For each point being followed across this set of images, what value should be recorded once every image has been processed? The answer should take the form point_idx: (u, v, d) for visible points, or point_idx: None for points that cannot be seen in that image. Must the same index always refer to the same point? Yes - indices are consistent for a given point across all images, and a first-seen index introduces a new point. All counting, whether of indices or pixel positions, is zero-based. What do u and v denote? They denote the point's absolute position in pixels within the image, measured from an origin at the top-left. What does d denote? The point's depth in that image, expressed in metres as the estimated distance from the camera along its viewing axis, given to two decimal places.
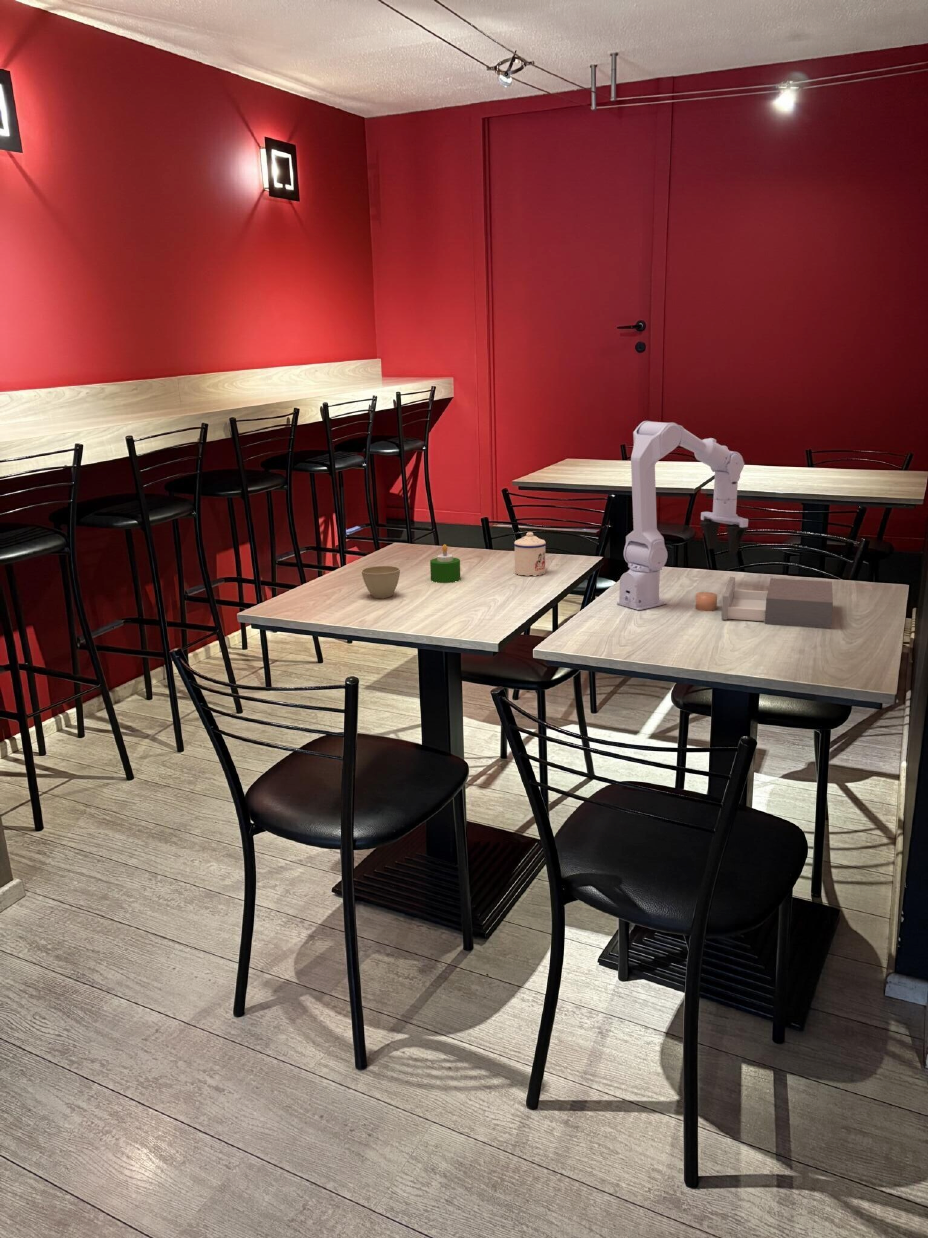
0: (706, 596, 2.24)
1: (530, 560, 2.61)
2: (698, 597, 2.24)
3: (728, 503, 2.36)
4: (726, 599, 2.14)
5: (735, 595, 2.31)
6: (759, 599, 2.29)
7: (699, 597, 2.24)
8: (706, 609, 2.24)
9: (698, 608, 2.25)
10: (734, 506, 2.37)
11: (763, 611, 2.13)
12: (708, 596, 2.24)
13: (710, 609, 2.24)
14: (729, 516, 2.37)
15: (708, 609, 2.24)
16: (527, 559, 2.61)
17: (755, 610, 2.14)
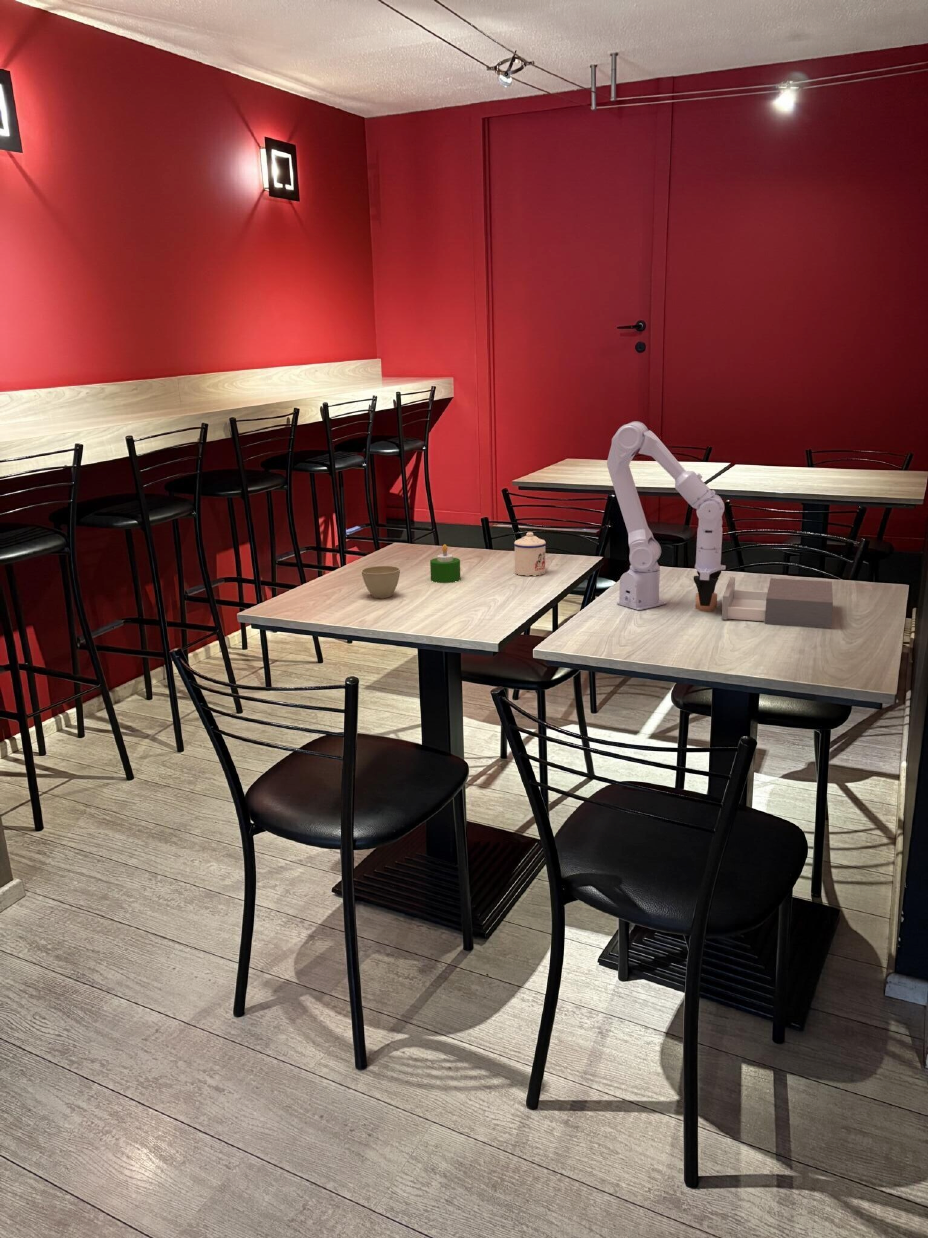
0: None
1: (530, 560, 2.61)
2: (698, 597, 2.24)
3: (701, 552, 2.21)
4: (726, 599, 2.14)
5: (735, 595, 2.31)
6: (759, 599, 2.29)
7: None
8: (706, 609, 2.24)
9: (698, 608, 2.25)
10: (709, 557, 2.20)
11: (763, 611, 2.13)
12: None
13: (710, 609, 2.24)
14: (702, 566, 2.21)
15: (708, 609, 2.24)
16: (527, 559, 2.61)
17: (755, 610, 2.14)
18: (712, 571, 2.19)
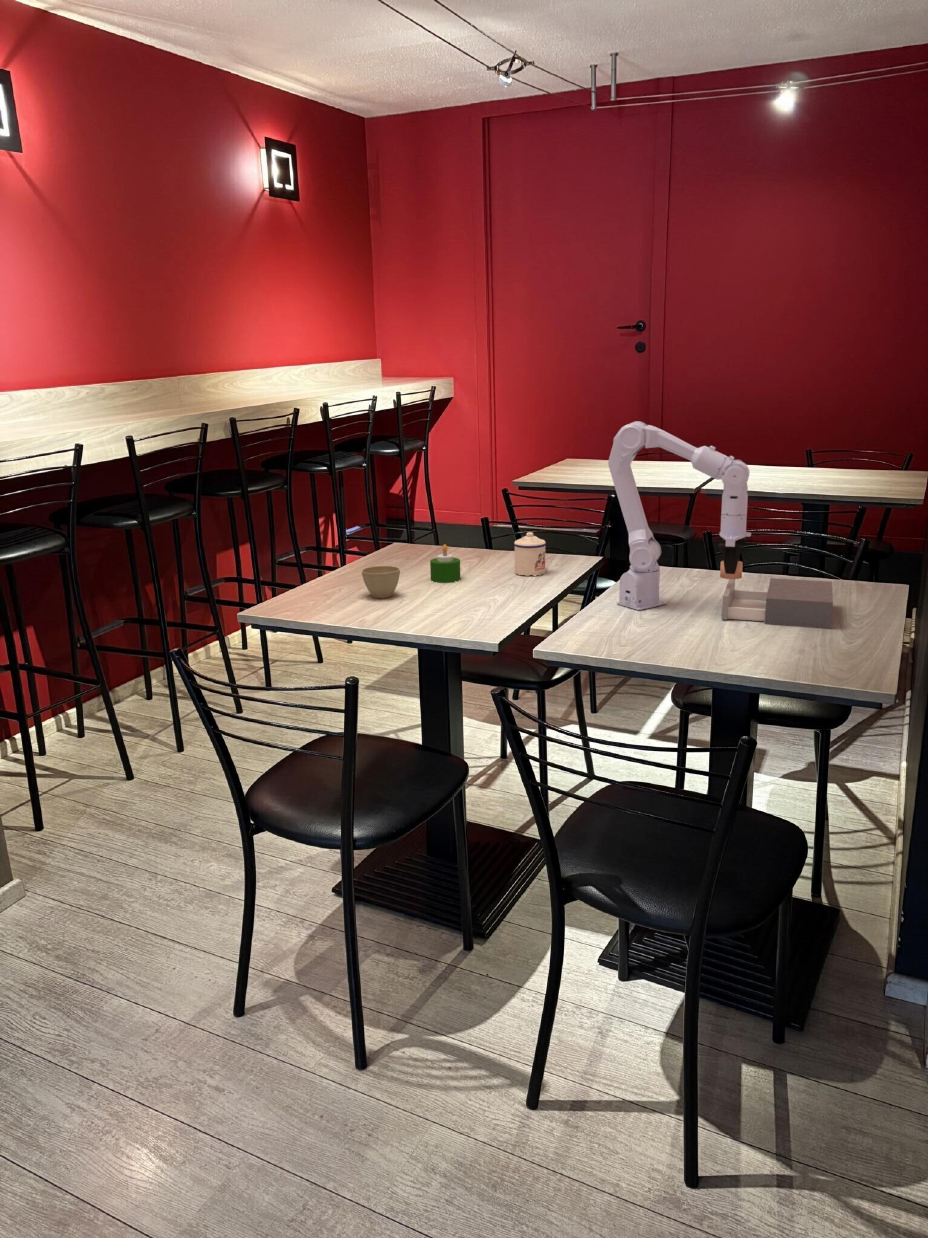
0: None
1: (530, 560, 2.61)
2: (723, 565, 2.20)
3: (727, 519, 2.17)
4: (726, 599, 2.14)
5: (735, 595, 2.31)
6: (759, 599, 2.29)
7: None
8: (731, 577, 2.20)
9: (723, 576, 2.21)
10: (735, 523, 2.16)
11: (763, 611, 2.13)
12: None
13: (735, 577, 2.20)
14: (728, 533, 2.17)
15: (733, 577, 2.20)
16: (527, 559, 2.61)
17: (755, 610, 2.14)
18: (738, 537, 2.15)
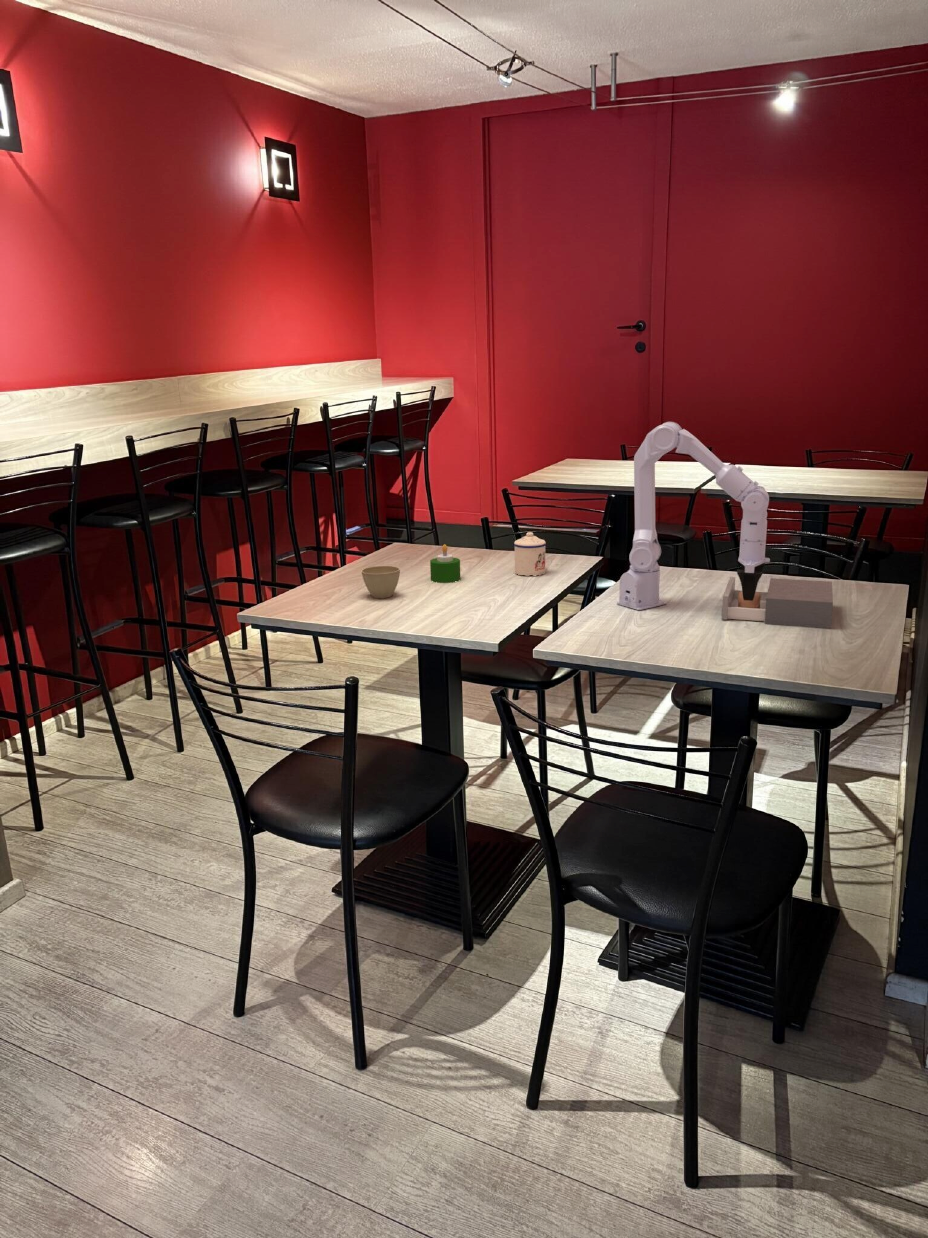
0: None
1: (530, 560, 2.61)
2: (741, 596, 2.21)
3: (746, 544, 2.17)
4: (726, 599, 2.14)
5: (735, 595, 2.31)
6: None
7: (742, 596, 2.21)
8: None
9: (741, 607, 2.21)
10: (754, 549, 2.16)
11: (763, 611, 2.13)
12: None
13: None
14: (747, 559, 2.17)
15: None
16: (527, 559, 2.61)
17: (755, 610, 2.14)
18: (757, 564, 2.15)
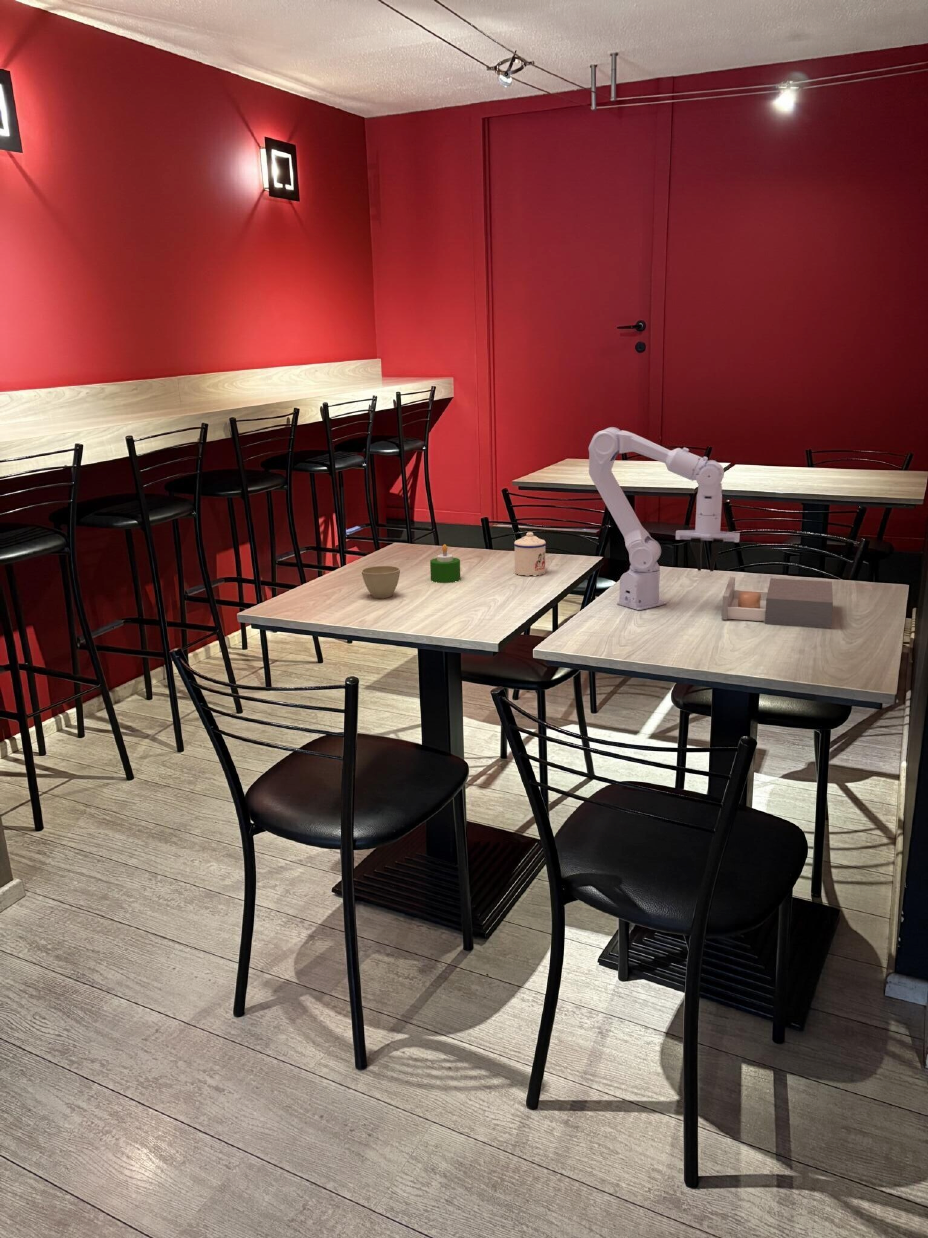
0: (749, 595, 2.20)
1: (530, 560, 2.61)
2: (741, 596, 2.21)
3: None
4: (726, 599, 2.14)
5: (735, 595, 2.31)
6: None
7: (742, 596, 2.20)
8: None
9: (741, 607, 2.21)
10: None
11: (763, 611, 2.13)
12: (752, 595, 2.20)
13: None
14: None
15: None
16: (527, 559, 2.61)
17: (755, 610, 2.14)
18: (686, 533, 2.22)
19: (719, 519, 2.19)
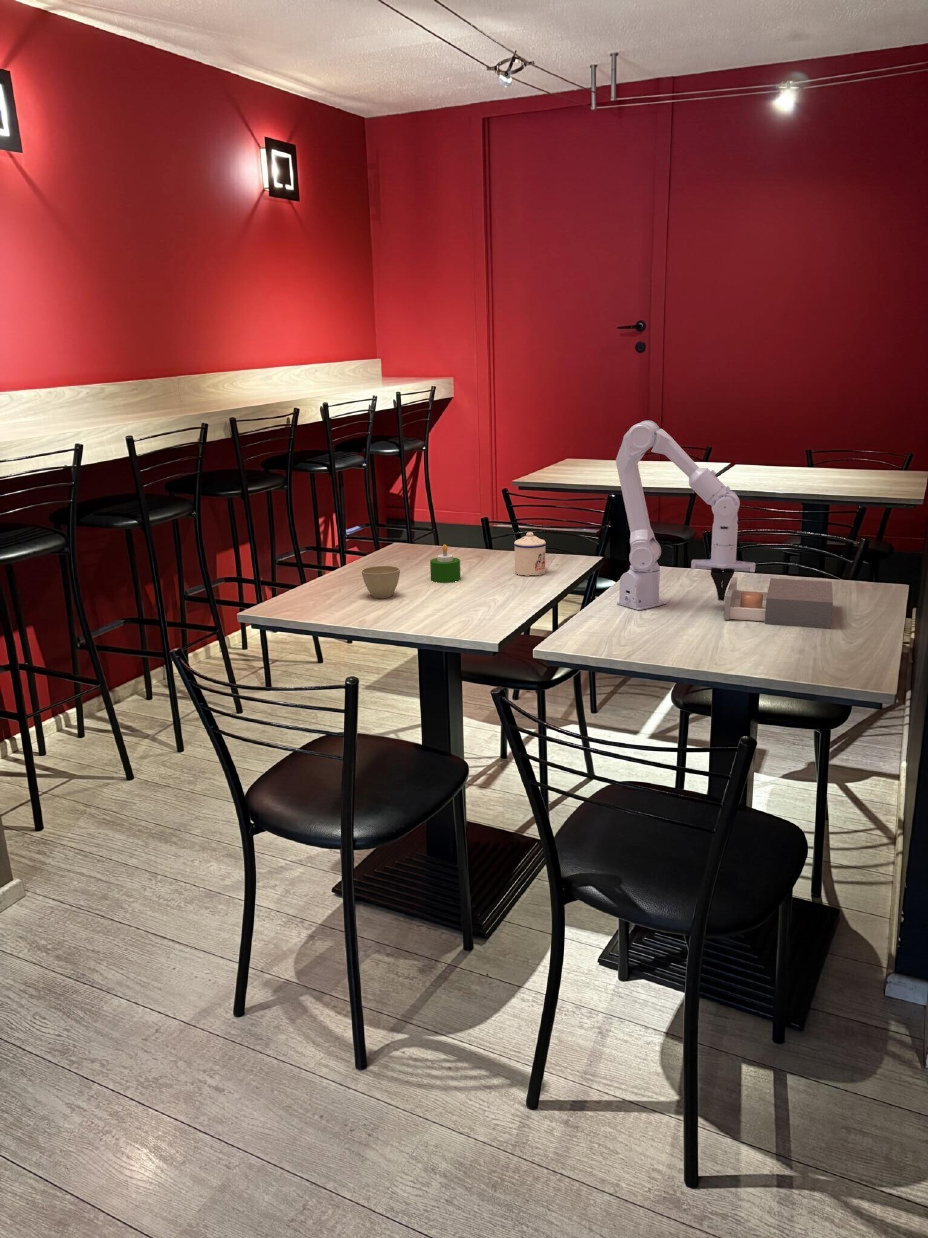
0: (752, 595, 2.20)
1: (530, 560, 2.61)
2: (743, 596, 2.21)
3: None
4: (728, 599, 2.14)
5: (737, 595, 2.31)
6: None
7: (745, 596, 2.20)
8: None
9: (743, 607, 2.21)
10: (711, 550, 2.22)
11: None
12: (754, 595, 2.20)
13: (756, 608, 2.20)
14: None
15: None
16: (527, 559, 2.61)
17: (758, 610, 2.14)
18: (701, 563, 2.22)
19: (734, 549, 2.19)
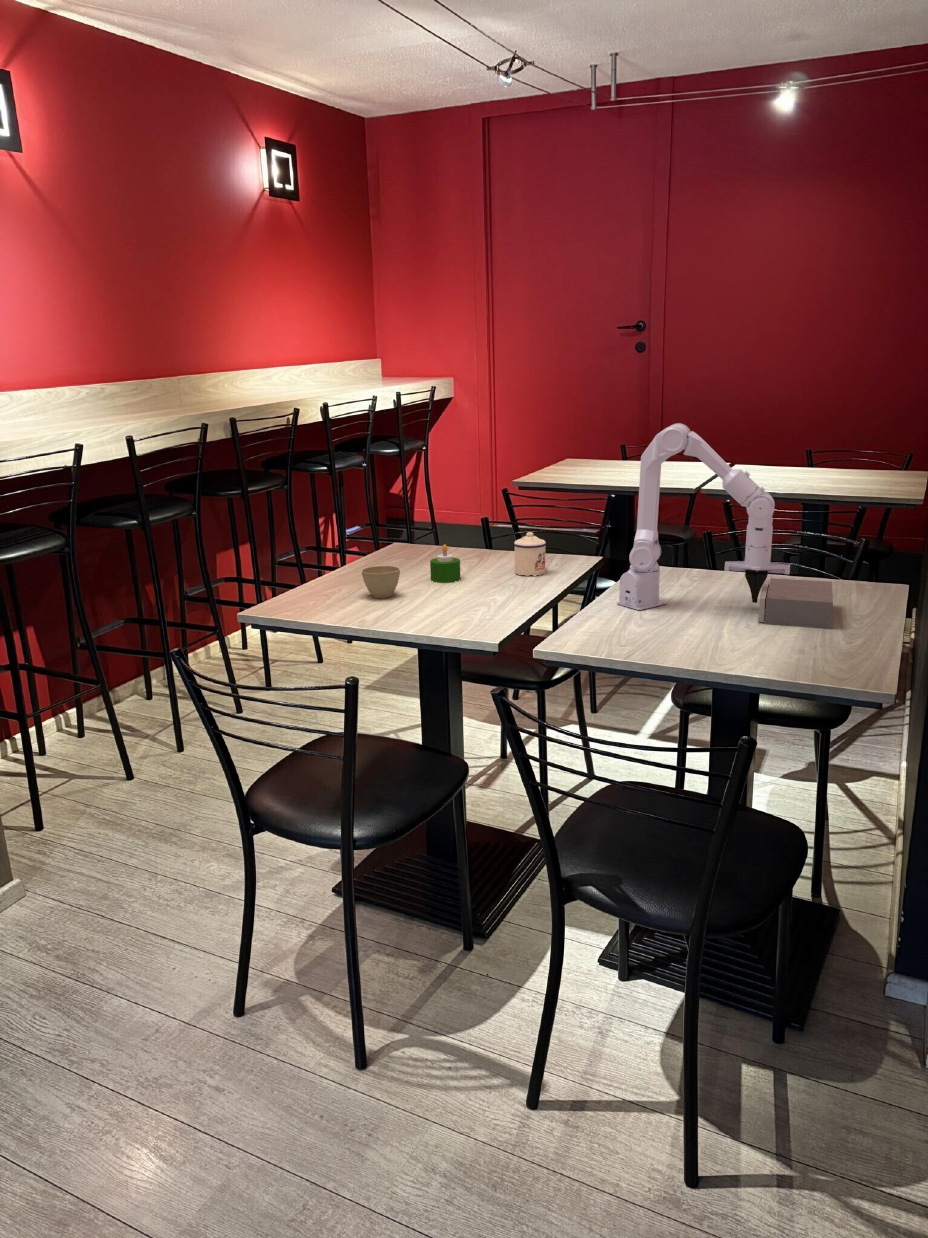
0: None
1: (530, 560, 2.61)
2: None
3: None
4: (763, 601, 2.12)
5: None
6: None
7: None
8: None
9: None
10: (745, 552, 2.19)
11: None
12: None
13: None
14: None
15: None
16: (527, 559, 2.61)
17: None
18: (735, 565, 2.20)
19: (769, 551, 2.17)
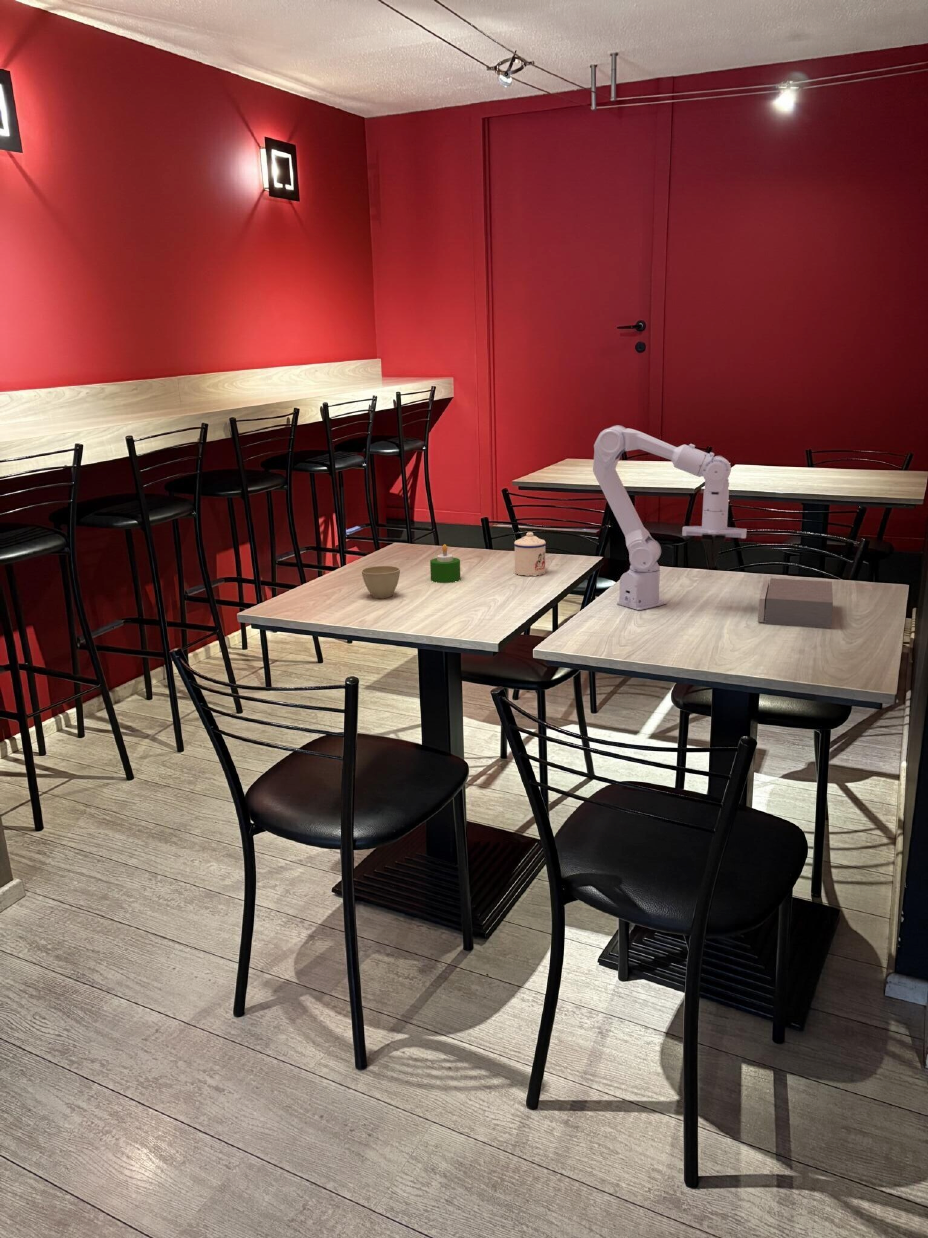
0: None
1: (530, 560, 2.61)
2: None
3: None
4: (763, 601, 2.12)
5: None
6: None
7: None
8: None
9: None
10: (702, 517, 2.20)
11: None
12: None
13: None
14: None
15: None
16: (527, 559, 2.61)
17: None
18: (692, 529, 2.21)
19: (726, 515, 2.18)
